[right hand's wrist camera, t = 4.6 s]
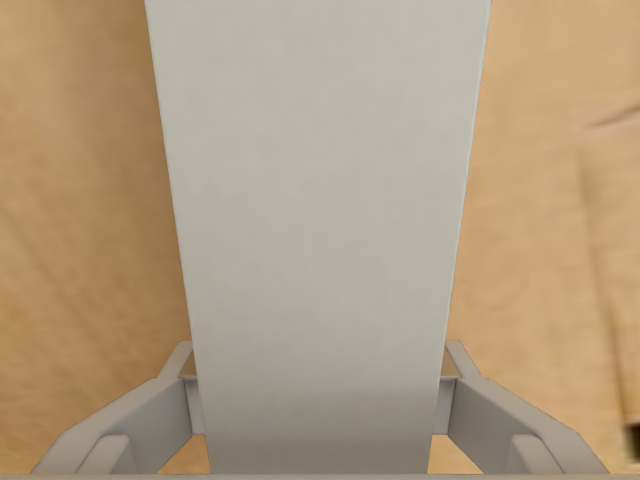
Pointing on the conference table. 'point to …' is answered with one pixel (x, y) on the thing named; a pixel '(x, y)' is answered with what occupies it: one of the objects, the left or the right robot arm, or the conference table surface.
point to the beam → (318, 218)
